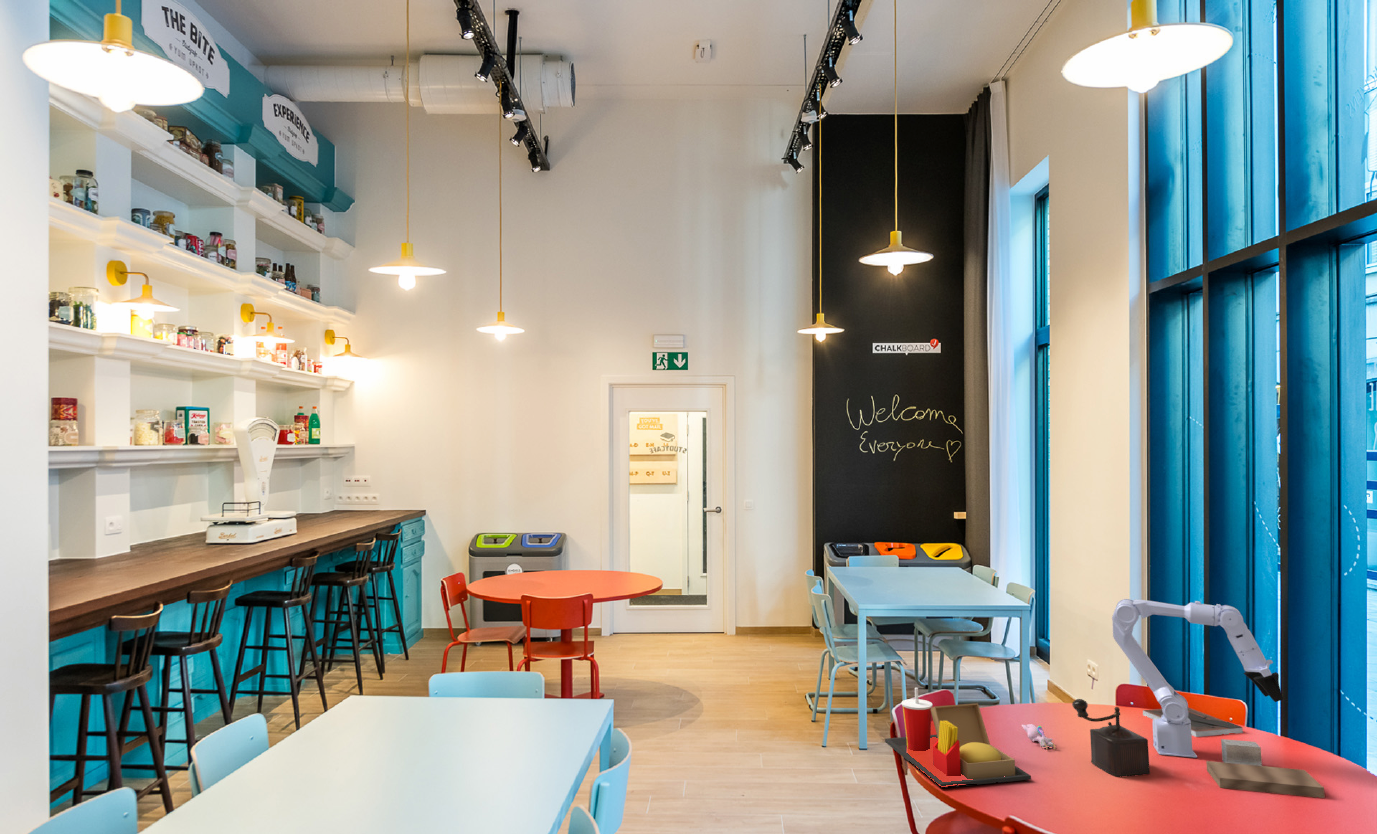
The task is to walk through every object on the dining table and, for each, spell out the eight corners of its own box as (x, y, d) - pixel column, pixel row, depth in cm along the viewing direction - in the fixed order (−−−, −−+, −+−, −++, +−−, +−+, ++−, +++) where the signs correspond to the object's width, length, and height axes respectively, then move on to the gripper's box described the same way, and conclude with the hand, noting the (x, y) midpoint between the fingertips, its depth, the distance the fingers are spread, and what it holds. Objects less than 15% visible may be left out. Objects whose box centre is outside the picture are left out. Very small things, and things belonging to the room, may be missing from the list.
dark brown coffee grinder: (1123, 759, 221) (1119, 694, 222) (1151, 774, 210) (1147, 705, 211) (1072, 763, 218) (1068, 697, 220) (1097, 778, 207) (1094, 709, 209)
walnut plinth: (1220, 787, 200) (1219, 777, 200) (1206, 770, 212) (1206, 760, 212) (1324, 798, 193) (1323, 787, 193) (1305, 779, 204) (1304, 769, 204)
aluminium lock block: (1227, 766, 214) (1226, 744, 214) (1222, 761, 218) (1221, 738, 219) (1262, 770, 211) (1260, 747, 212) (1256, 764, 216) (1255, 741, 216)
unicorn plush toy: (1061, 754, 229) (1033, 729, 244) (1061, 735, 228) (1034, 711, 243) (1040, 756, 228) (1014, 730, 243) (1041, 736, 228) (1015, 712, 242)
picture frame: (1243, 735, 240) (1186, 713, 261) (1242, 726, 240) (1186, 705, 262) (1196, 739, 237) (1143, 717, 259) (1195, 730, 237) (1142, 709, 259)
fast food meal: (941, 791, 202) (938, 718, 203) (885, 745, 237) (882, 682, 238) (1031, 783, 206) (1027, 711, 208) (963, 738, 241) (960, 677, 242)
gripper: (1271, 647, 210) (1299, 698, 206) (1253, 641, 223) (1280, 688, 220) (1243, 656, 212) (1271, 706, 208) (1227, 649, 225) (1253, 696, 222)
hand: (1273, 697), depth 214 cm, fingers open, 7 cm apart
